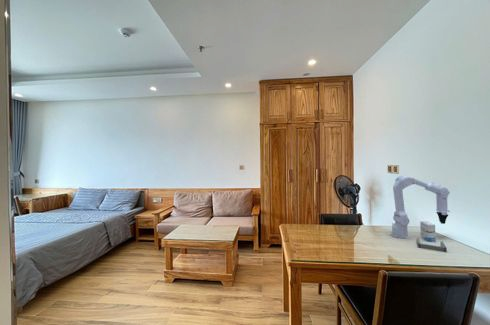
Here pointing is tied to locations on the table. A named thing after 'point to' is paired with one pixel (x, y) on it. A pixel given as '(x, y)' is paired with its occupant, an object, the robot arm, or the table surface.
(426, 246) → the bay
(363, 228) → the table surface
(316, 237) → the table surface
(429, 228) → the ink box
